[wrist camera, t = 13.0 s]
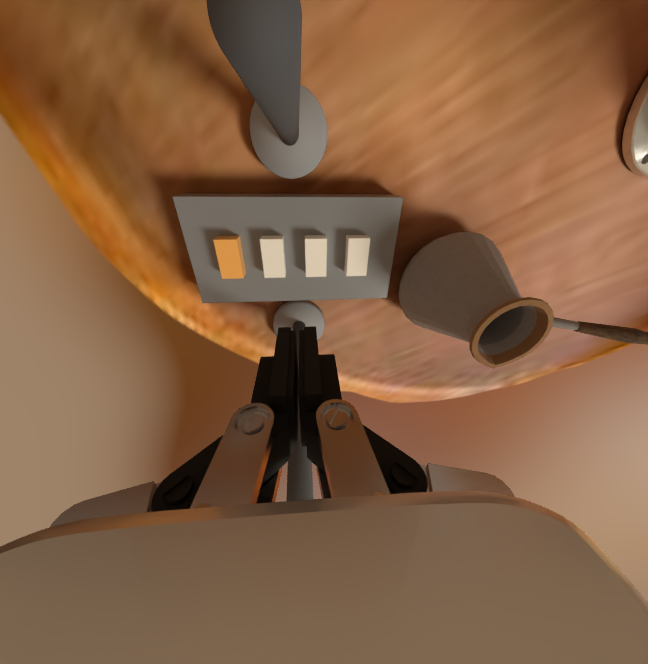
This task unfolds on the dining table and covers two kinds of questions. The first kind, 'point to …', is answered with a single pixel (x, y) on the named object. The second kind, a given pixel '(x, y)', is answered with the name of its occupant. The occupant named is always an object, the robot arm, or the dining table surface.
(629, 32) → the dining table surface
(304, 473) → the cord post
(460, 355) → the dining table surface
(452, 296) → the coffee pot
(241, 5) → the post
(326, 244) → the breaker strip
